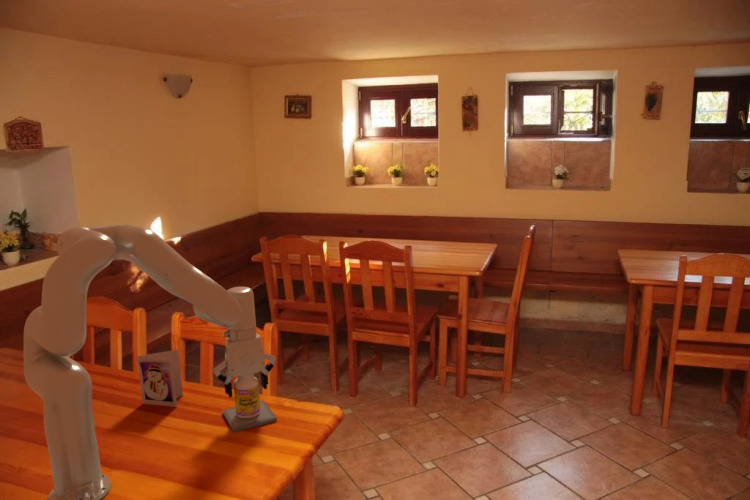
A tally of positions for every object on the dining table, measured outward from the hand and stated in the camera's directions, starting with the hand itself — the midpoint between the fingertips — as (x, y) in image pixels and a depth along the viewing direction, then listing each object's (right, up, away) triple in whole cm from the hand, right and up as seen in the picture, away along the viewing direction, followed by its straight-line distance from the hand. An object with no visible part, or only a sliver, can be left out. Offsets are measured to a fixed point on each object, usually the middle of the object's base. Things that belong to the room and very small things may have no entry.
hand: (247, 391), depth 164 cm
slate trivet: (0, -8, +2) cm, 8 cm away
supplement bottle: (0, -7, +1) cm, 7 cm away
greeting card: (-27, -6, +13) cm, 31 cm away
